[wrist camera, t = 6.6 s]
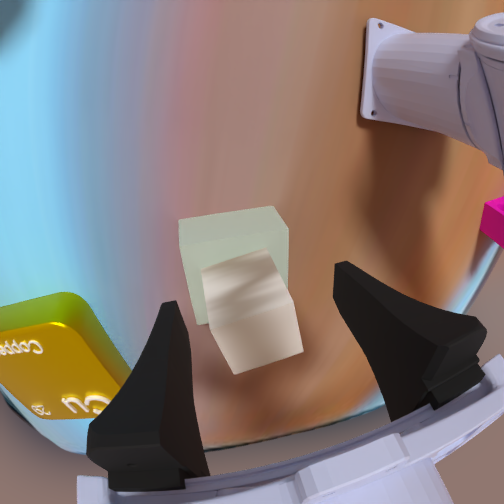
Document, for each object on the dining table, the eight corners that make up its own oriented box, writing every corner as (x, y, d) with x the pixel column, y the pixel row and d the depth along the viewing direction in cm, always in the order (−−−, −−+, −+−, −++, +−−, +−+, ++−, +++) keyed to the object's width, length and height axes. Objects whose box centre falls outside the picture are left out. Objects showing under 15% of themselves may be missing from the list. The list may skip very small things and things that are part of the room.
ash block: (266, 247, 20) (293, 301, 16) (278, 296, 23) (303, 351, 18) (200, 268, 20) (209, 329, 15) (221, 315, 23) (234, 374, 18)
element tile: (80, 284, 23) (67, 324, 19) (143, 383, 31) (143, 418, 28) (-25, 311, 22) (-41, 343, 18) (45, 393, 30) (39, 424, 26)
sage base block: (271, 204, 23) (288, 228, 20) (273, 277, 27) (287, 308, 24) (178, 218, 22) (179, 246, 19) (193, 291, 26) (197, 325, 23)
